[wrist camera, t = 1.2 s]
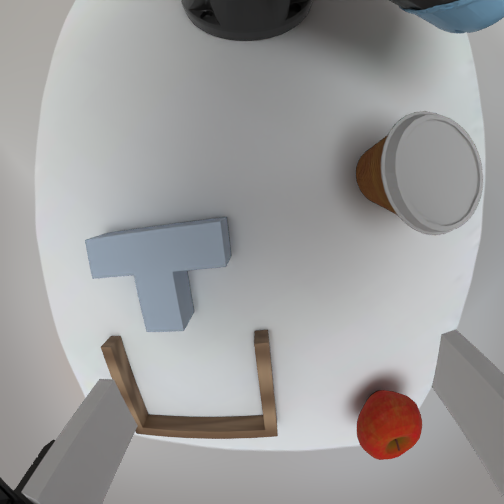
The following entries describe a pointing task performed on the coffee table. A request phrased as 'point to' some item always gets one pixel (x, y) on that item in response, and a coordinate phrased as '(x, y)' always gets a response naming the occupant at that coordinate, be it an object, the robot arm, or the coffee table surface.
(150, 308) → the t block
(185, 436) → the walnut fence
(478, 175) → the disposable coffee cup
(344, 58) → the coffee table surface
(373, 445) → the apple
